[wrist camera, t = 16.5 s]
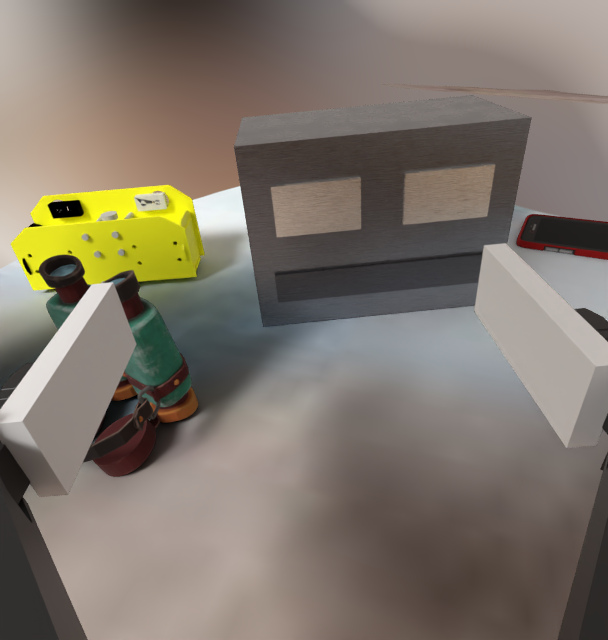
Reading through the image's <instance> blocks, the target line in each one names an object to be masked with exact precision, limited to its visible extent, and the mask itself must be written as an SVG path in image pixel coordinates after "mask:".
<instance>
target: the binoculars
mask: <svg viewBox="0 0 608 640" xmlns="http://www.w3.org/2000/svg"><path fill="white" fill-rule="evenodd" d="M39 273H40V275H41V276H42V278H43V279H44V281H45V282H46V284H47V285H48V286H49V287H51V288H55V290H56V291H57V294H55V295H54V296H53V297H52V298H50V299H49V300H48V302H47V304H46V307H47V310H48V313H49V314H50V316H51V318H52V320H53V322H54V324H55V325H56V327H57V329H58V330H59V329H60V327H61V326H62V325H63V323H64V322H65V320H66V319H67V318H68V316H69V315H70V314H71V312H72V311H73V310H74V308H75V307H76V305H77V304H78V303H79V301H80V300H81V299H82V297H83V296H84V295H85V293H86V292H87V290H88V289H89V288H90V286H91V285H89V284H87V283H86V281H85V279H84V277H83V276H84V274H85V270H84V267H83V265H82V263H81V261H80V260H79V259H78V258H77V257H75V256H72V255H56V256H53V257H50V258H48V259H46V260H45V261H43V262H42V263H41V265H40V267H39ZM111 282H113V283H114V286H115V288H116V291H117V294H118V296H119V299H120V302H121V304H122V307H123V310H124V312H125V315H126V318H127V320H128V323H129V326H130V328H131V331H132V334H133V336H134V339H135V342H136V346H135V349H134V351H133V353H132V355H131V357H130V360H129V362H128V364H127V366H126V368H125V371H124V373H123V375H122V377H121V379H120V382H119V384H118V386H117V388H116V390H115V393H114V395H113V397H112V399H111V400H112V401H119V400H124V399H127V398H131V397H133V396H135V395H137V394H138V400H139V402H138V404H137V405H136V408H135V411H134V413H133V414H130V415H127V416H125V417H123V418H121V419H119V420H117V421H116V422H114V423H113V424H111V425H110V426H109V427H107V428H106V429H105V430H104V431H103V432H102V433H101V434H100V436H99V437H98V438H97V440H96V441H95V443H94V444H93V445H90V448H89V450H88V452H87V454H86V456H85V459H84V461H83V462H86V461H90V460H93V461H94V462H95V463H96V464H97V465H98V466H99V467H100V468H101V469H102V470H103V471H104V472H105V473H106V474H108V475H110V476H113V477H118V476H123V475H126V474H128V473H130V472H132V471H133V470H135V469H136V468H138V467H139V466H140V465H141V464H142V463H143V462H144V461H145V460H146V459H147V457H148V456H149V454H150V453H151V451H152V449H153V446H154V444H155V440H156V430H155V428H156V427H157V426H158V424H159V422H164V423H166V422H174V421H179V420H182V419H184V418H186V417H188V416H190V415H192V414H193V413H194V412H195V411H196V409H197V407H198V401H197V398H196V395H195V393H194V390H193V389H192V388H191V384H192V380H191V377H190V374H189V370H188V366H187V363H186V361H185V359H184V357H183V356H182V354H181V353H179V351H178V349H177V347H176V345H175V343H174V341H173V339H172V337H171V335H170V333H169V331H168V329H167V327H166V325H165V323H164V321H163V319H162V317H161V315H160V313H159V312H158V310H157V309H156V307H155V306H154V305H153V304H151V303H150V302H148V301H147V300H145V299H143V298H141V297H139V295H138V291H139V289H140V286H139V283H138V281H137V278H136V275H135V273H134V271H133V270H128V271H124V272H121V273H119V274H117V275H115V276H113V277H112V278H110V279H108V280H106V281H104V282H103V283H111ZM149 401H150V403H149ZM105 415H106V412H105ZM105 415H104V417H103V419H102V421H101V423H100V426H99V428H98V430H97V432H96V434H97V433H98V432H99V430H100V429H101V427H102V425H103V422H104V420H105ZM148 418H149V419H151V420H150V421H149V420H148ZM96 434H95V435H96Z"/></svg>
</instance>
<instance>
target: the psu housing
mask: <svg viewBox="0 0 608 640" xmlns="http://www.w3.org/2000/svg"><path fill="white" fill-rule="evenodd" d="M530 123H531V117H529V116H527V115H524V114H521V113H519V112H515V111H513V110H510V109H507V108H505V107H502V106H499V105H497V104H494V103H492V102H489V101H486V100H484V99H481V98H478V97H475V96H473V95H470V96H461V97H449V98H439V99H429V100H419V101H408V102H398V103H388V104H378V105H367V106H357V107H348V108H337V109H326V110H316V111H306V112H296V113H286V114H275V115H265V116H255V117H244V118H242V121H241V124H240V128H239V131H238V135H237V138H236V142H235V145H234V149H235V155H236V162H237V168H238V173H239V180H240V186H241V193H242V199H243V205H244V211H245V218H246V224H247V230H248V236H249V242H250V249H251V255H252V261H253V267H254V274H255V280H256V286H257V292H258V298H259V305H260V311H261V317H262V323H263V327H264V326H274V325H284V324H294V323H304V322H314V321H324V320H334V319H343V318H353V317H363V316H373V315H383V314H393V313H403V312H413V311H423V310H432V309H442V308H452V307H462V306H472V305H475V302H476V296H477V289H478V282H479V275H480V268H481V262H482V255H483V248H484V245H493V244H503V243H506V244H507V241H508V236H509V231H510V226H511V221H512V215H513V210H514V205H515V200H516V195H517V190H518V184H519V179H520V174H521V169H522V164H523V159H524V154H525V149H526V143H527V138H528V133H529V128H530Z"/></svg>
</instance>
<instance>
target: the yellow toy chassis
mask: <svg viewBox="0 0 608 640" xmlns="http://www.w3.org/2000/svg"><path fill="white" fill-rule="evenodd" d="M154 191H162V193H153V192H154ZM165 194H166V195H167V196H168V199H169V204H168V203H167V199H166V195H165ZM57 199H58V200H62V201H61V202H53V201H54V200H57ZM152 201H153V202H154V203H152ZM158 203H160V204H158ZM67 206H68V209H69V211H67ZM30 214H31V216H32V218H33V220H34V222H35V223H33V224H32V225H30V226H29V227H28V228H24V229H23V231H22V232H21V233H20V234H19V235H18V236H17V237H16V238H15V240H14V241H13V242H12V243H11V246H12V248H13V250H14V252H15V254H16V256H17V258H18V260H19V262H20V264H21V266H22V268H23V270H24V272H25V274H26V276H27V278H28V280H29V282H30V285H31V287H32V289H33V290H45V289H55V288H51V287H49V286H48V285H47V284H46V282H45V281H44V279H43V278H42V276H41V275H40V273H39V267H40V265H41V263H42V262H43V261H45V260H46V259H48V258H50V257H53V256H56V255H72V256H75V257H77V258H78V259H79V260H80V261H81V263H82V265H83V267H84V270H85V274H84V276H83V277H84V279H85V281H86V283H87V284H89V285H92V284H101V283H103V282H104V281H106V280H108V279H110V278H112V277H113V276H115V275H117V274H119V273H121V272H124V271H128V270H133V271H134V273H135V275H136V278H137V281H138V282H140V281H152V280H164V279H176V278H188V277H197V274H196V271H197V268H198V265H199V262H200V260H201V257H200V256H201V255H205V254H204V249H203V245H202V241H201V236H200V232H199V227H198V223H197V219H196V214H195V210H194V205H193V201H192V199H191V198H190V197H189V196H187V195H185V194H184V193H182V192H180V191H178V190H177V189H175V188H174V187H172V186H170V185H162V186H152V187H140V188H128V189H117V190H106V191H94V192H83V193H73V194H62V195H49V196H43V197H42V198H41V200H40V201H39V202H38V204H37V205H36V207H35V208H34V209H33V211H32V212H31V213H30Z"/></svg>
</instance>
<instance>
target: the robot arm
mask: <svg viewBox="0 0 608 640" xmlns="http://www.w3.org/2000/svg"><path fill="white" fill-rule="evenodd" d="M474 312H475V313H476V315H477V316H478V318H479V319H480V321H481V322H482V324H483V325H484V327H485V328H486V330H487V331H488V333H489V334H490V336H491V337H492V339H493V340H494V341H495V343H496V344H497V346H498V347H499V349H500V350H501V352H502V353H503V355H504V356H505V358H506V359H507V361H508V362H509V364H510V365H511V367H512V368H513V370H514V371H515V373H516V374H517V376H518V377H519V378H520V380H521V381H522V383H523V384H524V386H525V387H526V389H527V390H528V392H529V393H530V395H531V396H532V398H533V399H534V401H535V402H536V404H537V405H538V407H539V408H540V410H541V411H542V413H543V414H544V415H545V417H546V418H547V420H548V421H549V423H550V424H551V426H552V427H553V429H554V430H555V432H556V433H557V435H558V436H559V438H560V439H561V441H562V442H563V444H564V445H565V447H566V448H574V447H584V446H595V445H597V442H598V440H599V437H600V435H601V432H602V430H603V429H604V431H605V432H606V433H607V434H608V321H607V320H605V319H604V318H603V317H602V316H600V315H598V314H596V313H594V312H592V311H590V310H588V309H586V308H581V309H573V308H572V307H571V306H570V305H569V304H568V303H567V302H566V301H565V300H564V299H563V298H562V297H561V296H560V295H559V294H558V293H557V292H556V291H555V290H554V289H553V288H552V287H551V286H550V285H548V284H547V283H546V282H545V281H544V280H543V279H542V278H541V277H540V276H539V275H538V274H537V273H536V272H535V271H534V270H533V269H532V268H531V267H530V266H529V265H528V264H527V263H526V262H525V261H524V260H523V259H522V258H521V257H520V256H519V255H517V254H516V253H515V252H514V251H513V250H512V249H511V248H510V247H509V246H508V245H507V244H506V243H503V244H493V245H484V248H483V255H482V262H481V268H480V275H479V282H478V289H477V296H476V302H475V309H474ZM135 346H136V342H135V339H134V336H133V334H132V331H131V328H130V326H129V323H128V320H127V318H126V315H125V312H124V310H123V307H122V304H121V302H120V299H119V296H118V294H117V291H116V288H115V286H114V283H113V282H111V283H101V284H92V285H91V286H90V288H89V289H88V290H87V292H86V293H85V295H84V296H83V297H82V299H81V300H80V301H79V303H78V304H77V305H76V307H75V308H74V310H73V311H72V312H71V314H70V315H69V316H68V318H67V319H66V320H65V322H64V323H63V325H62V326H61V327H60V329H59V330H58V331H57V333H56V334H55V335H54V337H53V338H52V340H51V341H50V342H49V344H48V345H47V346H46V348H45V349H44V350H43V352H42V353H41V355H40V356H39V357H38V359H37V360H36V361H35V363H27V364H25V365H24V366H23V367H22V368H20V369H19V370H18V371H16V372H15V373H14V374H12V375H11V376H10V378H9V379H8V380H7V382H6V383H5V384H4V385H3V387H2V388H1V389H2V390H1V391H0V640H87V637H86V635H85V633H84V630H83V628H82V626H81V624H80V621H79V619H78V617H77V615H76V612H75V610H74V608H73V605H72V603H71V601H70V599H69V596H68V594H67V592H66V589H65V587H64V585H63V583H62V580H61V578H60V576H59V574H58V571H57V569H56V567H55V564H54V562H53V560H52V558H51V555H50V553H49V551H48V548H47V546H46V544H45V542H44V539H43V537H42V535H41V533H40V530H39V528H38V526H37V523H36V521H35V519H34V517H33V514H32V512H31V510H30V508H29V505H28V503H27V502H26V501H25V499H24V498H23V495H24V493H25V491H26V489H27V488H28V486H29V484H31V486H32V487H33V489H34V490H35V491H36V493H37V494H38V496H39V497H47V496H58V495H68V494H69V492H70V489H71V487H72V485H73V483H74V481H75V478H76V476H77V474H78V472H79V470H80V467H81V465H82V463H83V461H84V459H85V456H86V454H87V452H88V450H89V448H90V445H91V443H92V441H93V439H94V437H95V434H96V432H97V430H98V428H99V426H100V423H101V421H102V419H103V417H104V415H105V412H106V410H107V408H108V406H109V404H110V401H111V399H112V397H113V395H114V393H115V390H116V388H117V386H118V384H119V382H120V379H121V377H122V375H123V373H124V371H125V368H126V366H127V364H128V362H129V360H130V357H131V355H132V353H133V351H134V349H135ZM600 470H603V473H602V477H601V481H600V484H599V488H598V492H597V495H596V499H595V503H594V506H593V510H592V514H591V518H590V521H589V525H588V529H587V532H586V536H585V540H584V544H583V547H582V551H581V555H580V558H579V562H578V566H577V570H576V573H575V577H574V581H573V584H572V588H571V592H570V596H569V599H568V603H567V607H566V610H565V614H564V618H563V621H562V625H561V629H560V633H559V636H558V640H608V453H607V455H606V457H605V460H604V462H603V464H602V466H601V469H600Z"/></svg>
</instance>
